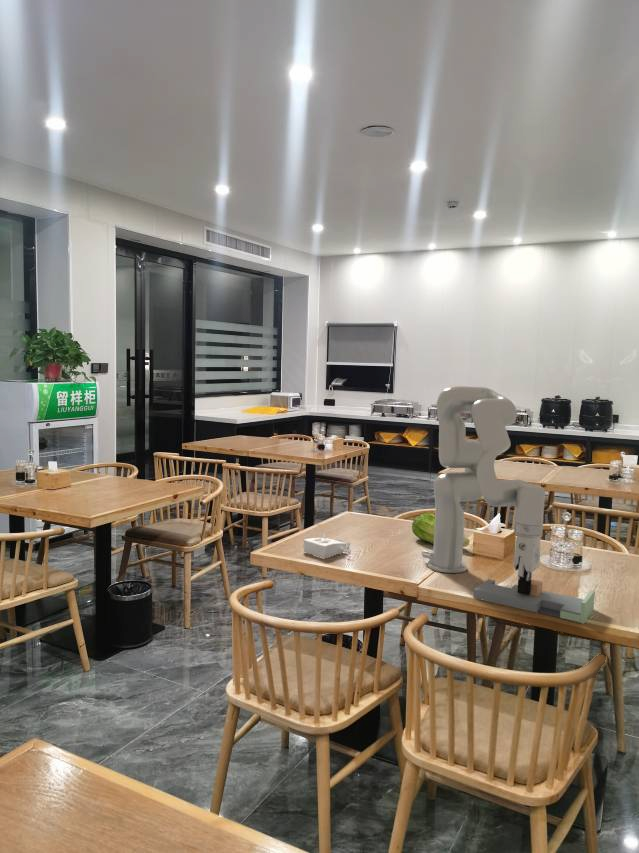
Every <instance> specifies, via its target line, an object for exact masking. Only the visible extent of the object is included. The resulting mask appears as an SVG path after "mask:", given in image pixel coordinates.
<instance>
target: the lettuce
mask: <svg viewBox="0 0 639 853" xmlns="http://www.w3.org/2000/svg"><path fill="white" fill-rule="evenodd" d="M411 526H412V527H411V530H412V533H413V534H414V535H415V537H417V538H418V540H421V541H425V542H428V543H430V544H433V545H434V529H435V514H434V513H430V512H427V513H423V514H420V515H419V516H417V517H415V518H414V519H413V520H412V525H411ZM469 545H470V539H469V538H468V537H467V536H466V535H465V534H464V538H463V548H465V547H468V546H469Z"/></svg>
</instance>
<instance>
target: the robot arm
mask: <svg viewBox="0 0 639 853" xmlns="http://www.w3.org/2000/svg"><path fill="white" fill-rule="evenodd" d="M517 411H518V410H517V407H516V406H515V404H514V403H513V402H512V400H511V399H509V398H507V397H505V396H504V395H502V394H500V393H498V392H497V391H495V390H493V389H492V388H488V387H485V386H484V387H483V386H462V385H460V386H450V387H447V388H444V389H443V390H442V391H441V392H440V393H439V395H438V397H437V400H436V413H437V414H436V415H437V420H438V429H439V430H438V431H439V432H438V459H439V464H440V465H441V466H442V467H444V468H446V469H464V471H462V472H461V471H459V472H454V471H453V472H445V473H442V474H440V475H438V476H437V477H436V478H435V479H434V482H433V494H434V503H435V504H434V505H435V512H434V513H435V514H434V515H435V529H434V544H433V549H432V551H429V550H424V549H423V550H422V553H421V556H422V558H425V559H429V560H428V562H427V567H428V568H429V569H431V570H433V571H436V572H438V573H439V572H440V573H446V574H457V573H458V574H460V573H464V572H465V571H467V564H466V563H464V562H463V550H464V547H463V538H464V535H465V520H466V516H465V511H464V509H463V507H462V506H461V502H471V501H472V502H473V501H478V500H480V499H482V498H483V500H484V501H485V503H486V504H487V505H489V506H491V507H494V508H502V507H503V508H504V507H515V509H514V511H515V512H514V523H513V524H514V525H513V526H514V527H513V534H514V535H516V538H515V540H516V541H515V547H514V554H513V556H514V557H513V569H514V570H515V571H517V576H518V577H517V580H518V581H517V585H518V593H520V594H525V595H529V594H530V593H531V580H529V579H532V578H533V577H532V576H533V572H535V571H536V570H537V569H539V567H540V565H541V537H543V529H544V513H545V501H546V499H545V498H546V491H545V488H544V487H543V486H541V485H538V484H537V485H536V484H531V483H528V482H527V481H525V480H523V479H499V480H498V478H497V474H496V470H495V461H496V458H497V457H498V456H499V455H501V454H503V453H504V452H506V451H508V450H509V449H510V448H511V444H512V443H511V438H510V437H509V434H508V430H507V428H506V427H509V426H512V425H513V424H514V423H515V422H516V420H517V417H518V412H517ZM460 414H470V416H471V419H472V422H473V426H474V429H475V431H476V434H477V439H478V440H477V439H471V438H469V439H468V438H466V437H467V436H466V433H467V431H466V423H465V422H464V419H463V418H462V415H460Z"/></svg>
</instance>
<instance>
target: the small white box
mask: <svg viewBox="0 0 639 853" xmlns="http://www.w3.org/2000/svg"><path fill="white" fill-rule="evenodd" d="M322 536H323V537H312V538H310V537H308V538H305V539H303V553H304V552H306V553H309V554H312V555H315V556H314V557H316V556H318V557H317V558H319V557H322V558H327V557H329V558H331V557H330V556H332V557H334V555H335V556H337V555H336V554H340V553H343V552H345V553H347V554H348V555H351V553H352V550H350V549H351V548H350V546H351V542H349V541H347V542H343V541H342V539H338V540H336V539H331V538H328V537H327V535H326V533H323V534H322ZM306 553H305V554H306ZM309 554H308V555H309ZM343 554H344V553H343ZM312 555H311V556H312ZM340 555H341V554H340ZM322 558H321V559H322ZM327 559H328V558H327Z"/></svg>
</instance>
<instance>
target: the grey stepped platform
mask: <svg viewBox="0 0 639 853" xmlns="http://www.w3.org/2000/svg"><path fill="white" fill-rule="evenodd" d="M517 587H518V584H514V585H513V586H511V587H508V586H502V585H498V584H496V580H495V579H491V578H488V579H486V580H485V581H484V582H482V583H480V584H479V585H478V586H477V585H476V586H475V588H473V595H472V597H476V598H475V599H477V598H479V599H478V600H481V599H483V600H482V601H485V600H487V602H489V603H490V602H491V603H495V604H499V605H503V606H507V607H512V608H516V609H521V610H525V611H528V612H532V613H537V614H540V615H546V616H550V617H553V618H558V619H563V620H566V621H570V622H575V623H580V624H585V623H586V621H587V620H588V619H589V617H590V616H591V614H592V613H593V612H594V607H595V597H596V596H595V595H596V590H595V589H592V588H591V589H590V590H589V592H588V593H587V594H586V596H585V597H584V598H579V597H578V598H577V597H574V596H569V595H564V594H559V593H554V592H552V591H551V592H550V591H546V590H542V592H541V593H540V594H539V595H538V596H533V595H525V594H520V593H518V592H517ZM586 619H587V620H586Z"/></svg>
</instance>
